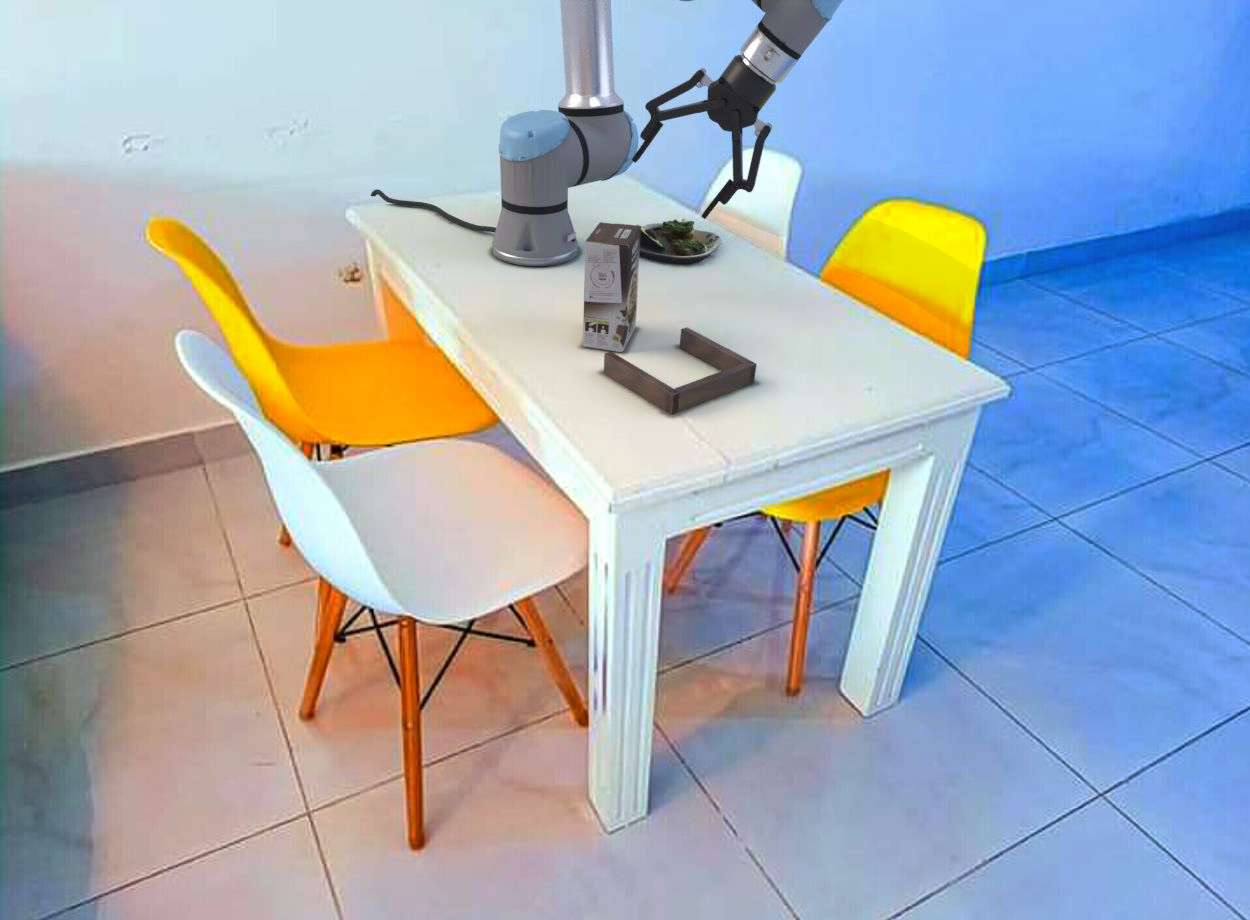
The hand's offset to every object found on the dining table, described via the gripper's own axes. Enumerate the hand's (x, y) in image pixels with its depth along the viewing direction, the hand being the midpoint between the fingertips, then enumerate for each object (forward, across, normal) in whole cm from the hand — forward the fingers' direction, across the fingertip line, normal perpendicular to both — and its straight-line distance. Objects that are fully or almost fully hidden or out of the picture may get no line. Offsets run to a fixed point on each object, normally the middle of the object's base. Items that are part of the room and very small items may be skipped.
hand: (669, 188), depth 141 cm
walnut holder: (+12, +16, -26) cm, 33 cm away
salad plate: (+16, +7, +23) cm, 29 cm away
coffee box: (+18, +6, -17) cm, 26 cm away
